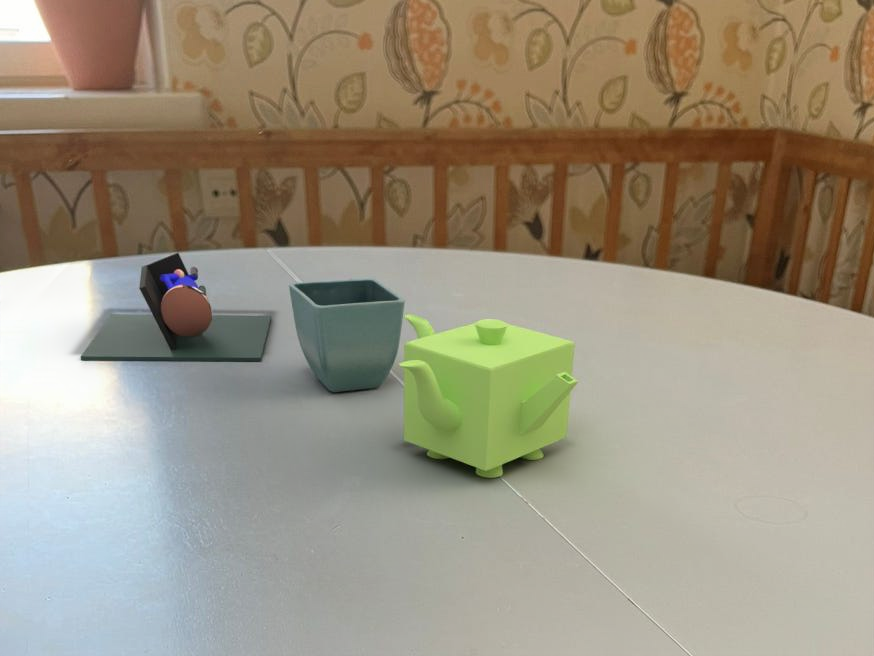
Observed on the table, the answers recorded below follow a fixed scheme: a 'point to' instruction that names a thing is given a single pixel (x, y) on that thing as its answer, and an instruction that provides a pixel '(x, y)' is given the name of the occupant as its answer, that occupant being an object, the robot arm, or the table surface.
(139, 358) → the placemat
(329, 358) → the flower pot
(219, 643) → the table surface
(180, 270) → the character figurine
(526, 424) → the kettle
